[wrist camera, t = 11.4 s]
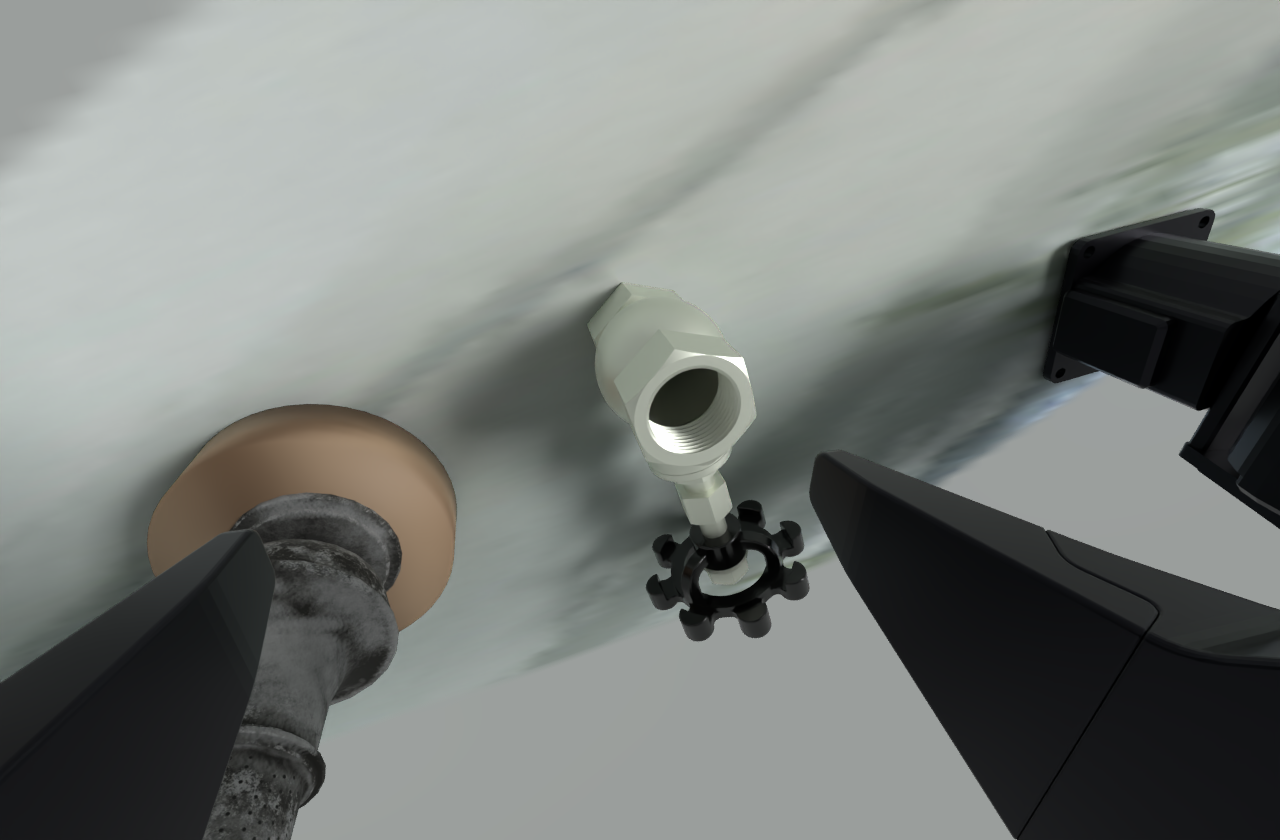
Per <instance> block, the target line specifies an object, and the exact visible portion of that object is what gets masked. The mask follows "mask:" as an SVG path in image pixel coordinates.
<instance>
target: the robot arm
mask: <svg viewBox="0 0 1280 840" xmlns="http://www.w3.org/2000/svg"><path fill="white" fill-rule="evenodd" d="M1214 218H1215V213H1214V211H1213V210H1210V209H1203V208H1197V209H1193V210H1189V211H1185V212H1181V213H1178V214H1174V215H1170V216H1166V217H1162V218H1158V219H1154V220H1150V221H1146V222H1143V223H1139V224H1135V225H1131V226H1127V227H1123V228H1119V229H1115V230H1112V231H1108V232H1104V233H1100V234H1096V235H1092V236H1088V237H1084V238H1082V239H1080V240H1078V241H1077V242H1076V243H1075V244H1074V245H1073V247H1072V249H1071V251H1070V255H1069V259H1068V264H1067V268H1066V273H1065V277H1064V282H1063V286H1062V291H1061V295H1060V300H1059V304H1058V309H1057V313H1056V318H1055V322H1054V327H1053V331H1052V336H1051V340H1050V345H1049V349H1048V354H1047V358H1046V363H1045V367H1044V372H1043V376H1044V378H1045V379H1047V380H1049V381H1051V382H1053V383H1059V382H1063V381H1066V380H1070V379H1073V378H1076V377H1080V376H1083V375H1087V374H1090V373H1094V372H1097V371H1101V372H1103V373H1106V374H1108V375H1110V376H1113V377H1115V378H1117V379H1120V380H1122V381H1124V382H1127V383H1129V384H1131V385H1134V386H1136V387H1138V388H1142V389H1144V388H1146V389H1148V390H1150V391H1153V392H1155V393H1157V394H1160V395H1162V396H1164V397H1167V398H1169V399H1171V400H1174V401H1176V402H1178V403H1181V404H1183V405H1186V406H1188V407H1190V408H1192V409H1195V410H1198V411H1200V410H1203V409H1204V410H1206V411H1208V412H1207V413H1206V415H1205V417H1204V418H1203V420H1202V422H1201V423H1200V425H1199V427H1198V428H1197V430H1196V432H1195V433H1194V435H1193V437H1192V439H1191V440H1190V442H1186V443H1185V444H1184V446H1183V448H1182V449H1181V451H1180V453H1179V456H1180V457H1182V458H1183V459H1185V460H1186V461H1187V462H1189V463H1190V464H1192V465H1193V466H1194V467H1196V468H1197V469H1198V471H1199V472H1201V473H1202V474H1204V475H1205V476H1206V477H1208V478H1209V479H1211V480H1212V481H1213V482H1215V483H1216V484H1218V485H1219V486H1220V487H1222V488H1223V489H1225V490H1226V491H1228V492H1229V493H1230V494H1232V495H1233V496H1235V497H1236V498H1237V499H1239V500H1240V501H1241V502H1243V503H1244V504H1246V505H1247V506H1248V507H1250V508H1251V509H1253V510H1254V511H1255V512H1257V513H1258V514H1260V515H1261V516H1262V517H1264V518H1265V519H1267V520H1268V521H1269V522H1271V523H1272V524H1274V525H1275V526H1276V527H1278V528H1279V529H1280V254H1275V253H1269V252H1264V251H1259V250H1253V249H1248V248H1242V247H1237V246H1232V245H1226V244H1221V243H1216V242H1210V241H1207V239H1208V236H1209V233H1210V230H1211V227H1212V225H1213V222H1214ZM809 494H810V500H811V503H812V506H813V508H814V510H815V512H816V514H817V516H818V518H819V520H820V522H821V524H822V526H823V528H824V530H825V532H826V534H827V536H828V538H829V540H830V542H831V544H832V546H833V548H834V550H835V552H836V554H837V556H838V558H839V561H840V562H841V564H842V566H843V568H844V570H845V572H846V574H847V575H848V577H849V579H850V580H851V582H852V584H853V585H854V587H855V588H856V590H857V592H858V593H859V595H860V596H861V598H862V600H863V601H864V603H865V604H866V606H867V607H868V609H869V610H870V612H871V614H872V615H873V617H874V618H875V620H876V622H877V623H878V625H879V626H880V628H881V630H882V631H883V632H884V634H885V636H886V637H887V639H888V641H889V642H890V644H891V645H892V647H893V649H894V650H895V652H896V653H897V655H898V656H899V658H900V660H901V661H902V663H903V664H904V666H905V667H906V669H907V670H908V672H909V674H910V675H911V677H912V678H913V680H914V681H915V683H916V685H917V686H918V688H919V690H920V691H921V693H922V694H923V696H924V697H925V699H926V701H927V702H928V704H929V705H930V707H931V709H932V710H933V711H934V713H935V715H936V716H937V718H938V720H939V721H940V723H941V724H942V726H943V727H944V729H945V731H946V732H947V734H948V735H949V737H950V738H951V740H952V742H953V743H954V745H955V746H956V748H957V749H958V751H959V753H960V754H961V756H962V757H963V759H964V760H965V762H966V764H967V765H968V767H969V769H970V770H971V772H972V773H973V775H974V776H975V778H976V780H977V781H978V783H979V784H980V786H981V787H982V789H983V791H984V792H985V794H986V795H987V797H988V798H989V800H990V801H991V803H992V805H993V806H994V808H995V809H996V811H997V813H998V814H999V816H1000V817H1001V819H1002V820H1003V822H1004V824H1005V825H1006V827H1007V828H1008V830H1009V831H1010V833H1011V835H1012V836H1013V838H1014V839H1017V840H1280V610H1279V609H1276V608H1272V607H1269V606H1266V605H1262V604H1259V603H1256V602H1253V601H1251V600H1247V599H1244V598H1242V597H1239V596H1236V595H1232V594H1230V593H1227V592H1224V591H1221V590H1217V589H1215V588H1211V587H1209V586H1206V585H1203V584H1200V583H1197V582H1194V581H1191V580H1188V579H1185V578H1181V577H1179V576H1176V575H1173V574H1169V573H1167V572H1164V571H1161V570H1158V569H1155V568H1152V567H1149V566H1146V565H1143V564H1140V563H1138V562H1135V561H1131V560H1129V559H1126V558H1123V557H1120V556H1117V555H1114V554H1112V553H1109V552H1106V551H1103V550H1101V549H1098V548H1095V547H1092V546H1090V545H1087V544H1085V543H1082V542H1079V541H1077V540H1074V539H1071V538H1068V537H1066V536H1064V535H1061V534H1058V533H1056V532H1053V531H1051V530H1047V531H1045V530H1044V528H1042V527H1040V526H1037V525H1035V524H1032V523H1030V522H1027V521H1024V520H1022V519H1019V518H1017V517H1013V516H1011V515H1009V514H1006V513H1004V512H1001V511H998V510H996V509H993V508H991V507H988V506H985V505H983V504H980V503H978V502H975V501H972V500H970V499H967V498H965V497H962V496H959V495H957V494H954V493H952V492H949V491H947V490H944V489H941V488H939V487H936V486H934V485H931V484H928V483H926V482H923V481H921V480H918V479H915V478H913V477H910V476H908V475H905V474H902V473H900V472H897V471H895V470H892V469H889V468H887V467H884V466H882V465H879V464H876V463H874V462H871V461H869V460H866V459H863V458H861V457H858V456H856V455H853V454H850V453H848V452H845V451H842V450H833V451H826V452H820V453H819V454H818V455H817V456H816V458H815V462H814V467H813V473H812V479H811V484H810V491H809ZM275 581H276V580H275V572H274V569H273V566H272V564H271V561H270V559H269V557H268V554H267V552H266V549H265V547H264V544H263V542H262V540H261V537H260V535H259V534H258V533H257V532H256V531H255V530H252V529H244V530H237V531H229V532H224V533H221V534H219V535H217V536H216V537H214V538H213V539H211V540H210V541H208V542H207V543H206V544H204V545H203V546H201V547H200V548H198V549H197V550H195V551H194V552H192V553H191V554H189V555H188V556H186V557H185V558H183V559H182V560H181V561H179V562H178V563H176V564H175V565H173V566H172V567H170V568H169V569H167V570H166V571H164V572H163V573H161V574H160V575H158V576H157V577H155V578H154V579H153V580H151V581H150V582H148V583H147V584H145V585H144V586H142V587H141V588H139V589H138V590H136V591H135V592H133V593H132V594H130V595H129V596H128V597H126V598H125V599H123V600H122V601H120V602H119V603H117V604H116V605H114V606H113V607H111V608H110V609H108V610H107V611H105V612H104V613H103V614H101V615H100V616H98V617H97V618H95V619H94V620H92V621H91V622H89V623H88V624H86V625H85V626H83V627H82V628H80V629H79V630H78V631H76V632H75V633H73V634H72V635H70V636H69V637H67V638H66V639H64V640H63V641H61V642H60V643H58V644H57V645H55V646H54V647H53V648H51V649H50V650H48V651H47V652H45V653H44V654H42V655H41V656H39V657H38V658H36V659H35V660H33V661H32V662H30V663H29V664H28V665H26V666H25V667H23V668H22V669H20V670H19V671H17V672H16V673H14V674H13V675H11V676H10V677H8V678H7V679H5V680H4V681H3V682H1V683H0V840H203V838H204V835H205V832H206V829H207V826H208V823H209V820H210V817H211V814H212V811H213V808H214V805H215V802H216V799H217V796H218V793H219V790H220V787H221V784H222V781H223V778H224V775H225V772H226V769H227V766H228V763H229V760H230V757H231V754H232V751H233V748H234V745H235V742H236V739H237V736H238V733H239V730H240V727H241V724H242V721H243V718H244V715H245V712H246V709H247V706H248V703H249V700H250V697H251V694H252V690H253V687H254V684H255V680H256V676H257V672H258V667H259V663H260V658H261V653H262V648H263V643H264V638H265V634H266V629H267V624H268V619H269V614H270V609H271V604H272V599H273V594H274V590H275Z"/></svg>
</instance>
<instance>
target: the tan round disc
mask: <svg viewBox="0 0 1280 840" xmlns="http://www.w3.org/2000/svg"><path fill="white" fill-rule="evenodd" d="M306 492H307V493H322V494H332V495H336V496H340V497H344V498H347V499H351V500H354V501H356V502H358V503H360V504H362V505H364V506H366V507H368V508H370V509H372V510H374V511H375V512H376V513H377V514H379V515H380V516H381V517H382V518H383V519H384V520H386V521H387V522H388V523H389V524H390V526H391V527H392V529H393V530H394V532H395V533H396V535H397V537H398V538H399V542H400V546H401V550H402V561H401V570H400V573H399V575H398V577H397V579H396V581H395V583H394V585H393V586H392V587H391V588H390V589H389V590H388V591H387V592H386V594H387V597H388V601H389V604H390V608H391V609H392V611H393V612H394V616H395V619H396V622H397V626H398V629H399V631H401V630H403V629H404V628H406V627H408V626H409V625H411V624H412V623H414V622H415V621H416V620H417V619H419V618H420V617H421V616H423V615H424V614H425V613H426V612H427V611H428V610H429V609H430V608H431V607H432V606H433V604H434V603H435V602H436V600H437V599H438V598H439V597H440V595H441V594H442V592H443V590H444V588H445V586H446V585H447V582H448V580H449V577H450V574H451V571H452V565H453V560H454V546H455V531H456V516H457V504H456V497H455V492H454V489H453V486H452V483H451V480H450V478H449V476H448V474H447V472H446V470H445V468H444V467H443V465H442V464H441V462H440V461H439V460H438V458H437V457H436V456H435V455H434V453H433V452H432V451H431V450H430V449H429V448H428V447H427V446H426V445H425V444H424V443H422V442H421V441H420V440H419V439H417V438H416V437H415V436H414V435H412V434H411V433H409V432H408V431H406V430H404V429H403V428H401V427H400V426H398V425H396V424H394V423H392V422H390V421H388V420H385V419H383V418H381V417H378V416H375V415H372V414H370V413H367V412H364V411H359V410H355V409H351V408H347V407H340V406H332V405H318V404H303V405H290V406H283V407H278V408H273V409H268V410H265V411H262V412H259V413H255V414H252V415H250V416H247V417H245V418H243V419H241V420H239V421H236V422H234V423H233V424H231V425H230V426H228V427H226V428H225V429H223V430H222V431H220V432H219V433H218V434H217V435H215V436H214V437H213V438H212V439H211V440H210V441H209V442H207V444H206V445H205V446H204V447H203V448H202V450H201V451H200V452H199V453H198V454H197V456H196V457H195V458H194V459H193V461H192V462H191V463H190V464H189V465H188V467H187V468H186V469H185V470H184V471H183V473H182V474H181V475H180V476H179V478H178V479H177V480H176V481H175V482H174V484H173V485H172V486H171V487H170V489H169V490H168V491H167V492H166V493H165V495H164V496H163V497H162V498H161V500H160V502H159V503H158V505H157V507H156V509H155V511H154V512H153V515H152V518H151V522H150V525H149V528H148V538H147V548H148V557H149V561H150V564H151V567H152V571H153V573H154V575H155V577H157V576H158V575H160V574H161V573H163V572H164V571H166V570H167V569H169V568H170V567H172V566H173V565H175V564H176V563H178V562H179V561H181V560H182V559H183V558H185V557H186V556H188V555H189V554H191V553H192V552H194V551H195V550H197V549H198V548H200V547H201V546H203V545H204V544H206V543H207V542H208V541H210V540H211V539H213V538H214V537H216V536H217V535H219V534H221V533H224V532H229V531H230V529H231V528H232V527H233V526H234V524H235V523H236V522H237V521H238V520H239V518H240V517H241V516H242V515H243V514H244V513H246V512H247V511H249V510H250V509H252V508H254V507H255V506H257V505H258V504H260V503H262V502H265V501H268V500H271V499H274V498H276V497H279V496H282V495H290V494H298V493H306Z"/></svg>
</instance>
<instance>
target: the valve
mask: <svg viewBox="0 0 1280 840" xmlns="http://www.w3.org/2000/svg"><path fill="white" fill-rule="evenodd" d="M587 326H588V329H589V331H590V334H591V337H592V339H593V342H594V344H595V347H596V354H595V372H596V379H597V382H598V386H599V389H600V391H601V394H602V396H603V398H604V399H605V401H606V402H607V404H608V405H609V407H610V408H611V409H612V410H613V411H614V412H615V413H616V414H617V415H618V416H619V417H620V418H621V419H623V420H624V421H625V422H627V423H628V424H630V425H631V428H632V430H633V433H634V435H635V438H636V440H637V442H638V444H639V446H640V449H641V451H642V453H643V455H644V457H645V459H646V461H648V464H649V467H650V469H651V471H652V472H653V474H655V475H656V476H657V477H659V478H661V479H663V480H666V481H671V482H676V483H675V487H676V489H677V492H678V495H679V498H680V501H681V504H682V506H683V509H684V511H685V513H686V515H687V517H688V519H689V521H690V524H691V529H690V536H689V537H688V538H687V539H686V540H685V541H684V542H683V543H682V544H678V543H676V542H674V540H673V538H672V535H671V534H665V535H662V536H660V537H658V538H657V539H656V540H655V541H654V543H653V546H652V548H653V551H654V553H655V556H656V558H657V561H658V563H659V565H660V566H661V567H663V568H671V577H670V578H668V579H666V580H661V581H660V580H659V577H658V575H657V574H655V575H653V576H652V577H651V578H650V579H649V580H648V582H647V584H646V590H647V592H648V594H649V597H650V599H651V601H652V603H653V605H654V606H655V608H657V609H659V610H668V609H670V608H672V607H674V606H675V605H676V603H677V602H683V603H685V604H686V605H687V606H688V607H690V609H689V611H686V610H684V609H681V610H680V613H679V619H680V621H681V623H682V626H683V628H684V631H685V633H686V635H687V637H688V638H689V639H691V640H693V641H703V640H706V639H707V638H709V637H710V636H711V635H712V633H713V631H714V622H715V621H716V620H717V619H719V618H722V617H735V618H737V619H738V621H739V624H740V627H741V630H742V631H743V633H744V634H745V635H747V636H748V637H751V638H760V637H763V636H764V635H766V634H767V633H768V632H769V630H770V628H771V619H770V616H769V612H768V609H767V605H766V603H765V602H766V601H767V600H768V599H769V598H771V597H772V596H773V595H775V594H781V595H782V596H783V597H784V598H786V599H788V600H800V599H802V598H804V597H805V596H806V595H807V594H808V592H809V582H808V577H807V573H806V569H805V567H804V566H803V565H802V564H801V563H799V562H796V561H794V563H793V566H792V569H789V568H786V567H784V566H783V560H784V558H785V557H793V556H796V555H798V554H800V553H801V552H802V551H803V549H804V541H803V537H802V532H801V528H800V526H799V525H798V524H797V523H795V522H793V521H782V522H780V527H781V531H779V532H778V533H776V534H773V535H771V534H770V533H769V532H768V531H766V530H765V529H763V528H764V527H765V524H766V521H765V517H764V513H763V509H762V506H761V504H760V503H759V502H757V501H754V500H747V501H744V502H742V503H740V504H739V505H738V506H737V511H738V514H739V516H738V519H737V518H736V517H735V516H734V515H733V514H731V513H729V511H730V510H731V509H732V507H733V506H732V503H731V499H730V496H729V492H728V489H727V485H726V482H725V480H724V479H723V477H722V475H721V474H720V472H719V471H718V469H719V468H720V467H722V466H723V464H724V463H725V462H726V461H727V460H728V458H729V457H730V454H731V452H732V446H733V445H734V444H735V443H736V442H737V441H738V439H739V438H740V437H741V436H742V435H743V434H744V433H745V432H746V430H747V429H748V428H749V426H750V425H751V424H752V422H753V421H754V419H755V418H756V417H757V416H756V408H755V402H754V397H753V392H752V388H751V384H750V380H749V376H748V373H747V369H746V366H745V363H744V359H743V357H742V356H741V355H740V354H739V353H738V352H737V351H736V350H735V349H734V348H732V347H731V346H730V345H729V344H728V343H727V342H726V341H725V339H724V337H723V334H722V333H721V331H720V329H719V328H718V326H717V325H716V323H715V322H714V321H713V320H712V319H711V318H710V317H709V316H708V315H707V314H706V313H705V312H704V311H702V310H701V309H700V308H698V307H697V306H695V305H693V304H691V303H689V302H687V301H684V300H683V299H682V298H681V297H680V296H679V295H678V294H677V293H675V292H674V291H672V290H668V289H661V288H655V287H649V286H643V285H636V284H630V283H621V284H620V285H619V286H618V287H617V289H616V290H615V291H614V292H613V293H612V295H611V296H610V297H609V298H608V299H607V301H606V302H605V303H604V304H603V305H602V307H601V308H600V309H599V310H598V311H597V312H596V314H595V315H594V316H593V317H592V318H591V320H590V321H589V323H588V324H587ZM747 550H756V551H759V552H761V553H762V554H763V555H764V557H765V561H766V568H765V570H764V573H763V574H762V576H761V577H760V578H759V580H758V581H757V582H756V583H755V584H753V585H752V586H751V587H749V588H747V589H745V590H744V591H742V592H739V593H736V594H733V595H728V596H712V595H708V594H705V593H702V592H701V589H700V587H699V583H698V581H699V577H700V574H701V572H702V571H703V570H705V571H707V573H708V575H709V577H710V579H711V581H712V583H713V584H719V585H732V584H736V583H737V582H738V581H740V580H741V579H742V577H743V576H744V575H745V574H746V572H747V571H748V569H749V566H748V562H747V559H746V558H747V554H748V551H747Z"/></svg>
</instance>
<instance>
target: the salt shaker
mask: <svg viewBox="0 0 1280 840" xmlns="http://www.w3.org/2000/svg"><path fill="white" fill-rule="evenodd" d="M244 529H252V530H255V531H256V532H257V533H258V534H259V535H260V537H261V540H262V542H263V544H264V547H265V549H266V552H267V554H268V557H269V559H270V561H271V564H272V566H273V569H274V572H275V580H276V581H275V590H274V594H273V599H272V604H271V609H270V614H269V619H268V624H267V629H266V634H265V638H264V643H263V648H262V653H261V658H260V663H259V667H258V672H257V676H256V680H255V684H254V687H253V690H252V694H251V697H250V700H249V703H248V706H247V709H246V712H245V715H244V718H243V721H242V724H241V727H240V730H239V733H238V736H237V739H236V742H235V745H234V748H233V751H232V754H231V757H230V760H229V763H228V766H227V769H226V772H225V775H224V778H223V781H222V784H221V787H220V790H219V793H218V796H217V799H216V802H215V805H214V808H213V811H212V814H211V817H210V820H209V823H208V826H207V829H206V832H205V835H204V838H203V840H290V839H291V836H292V832H293V828H294V824H295V820H296V816H297V813H298V809H299V808H301V807H302V806H304V805H306V804H307V803H308V802H309V801H310V800H311V799H312V798H313V797H314V796H315V795H316V794H317V793H318V792H319V789H320V788H321V786H322V784H323V782H324V779H325V767H326V765H325V763H324V760H323V758H322V756H321V754H320V753H319V752H318V751H317V750H318V747H319V743H320V739H321V735H322V731H323V727H324V723H325V720H326V716H327V712H328V708H329V706H330V705H332V704H335V703H338V702H340V701H343V700H346V699H348V698H351V697H352V696H354V695H356V694H357V693H359V692H360V691H362V690H364V689H365V688H367V687H369V686H370V685H372V684H373V683H374V682H375V681H376V680H377V679H378V678H379V677H380V676H381V675H382V674H383V673H384V672H385V671H386V670H387V669H388V667H389V665H390V663H391V661H392V659H393V657H394V655H395V653H396V651H397V642H398V633H399V629H398V626H397V622H396V619H395V616H394V612H393V611H392V609H391V608H390V604H389V601H388V597H387V594H386V592H387V591H388V590H389V589H390V588H391V587H392V586H393V585H394V583H395V581H396V579H397V577H398V575H399V573H400V570H401V561H402V550H401V546H400V542H399V538H398V537H397V535H396V533H395V532H394V530H393V529H392V527H391V526H390V524H389V523H388V522H387V521H386V520H384V519H383V518H382V517H381V516H380V515H379V514H377V513H376V512H375V511H374V510H372V509H370V508H368V507H366V506H364V505H362V504H360V503H358V502H356V501H354V500H351V499H347V498H344V497H340V496H336V495H332V494H322V493H307V492H306V493H298V494H290V495H282V496H279V497H276V498H274V499H271V500H268V501H265V502H262V503H260V504H258V505H257V506H255V507H254V508H252V509H250V510H249V511H247V512H246V513H244V514H243V515H242V516H241V517H240V518H239V520H238V521H237V522H236V523H235V524H234V526H233V527H232V528H231V529H230V531H237V530H244Z"/></svg>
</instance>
